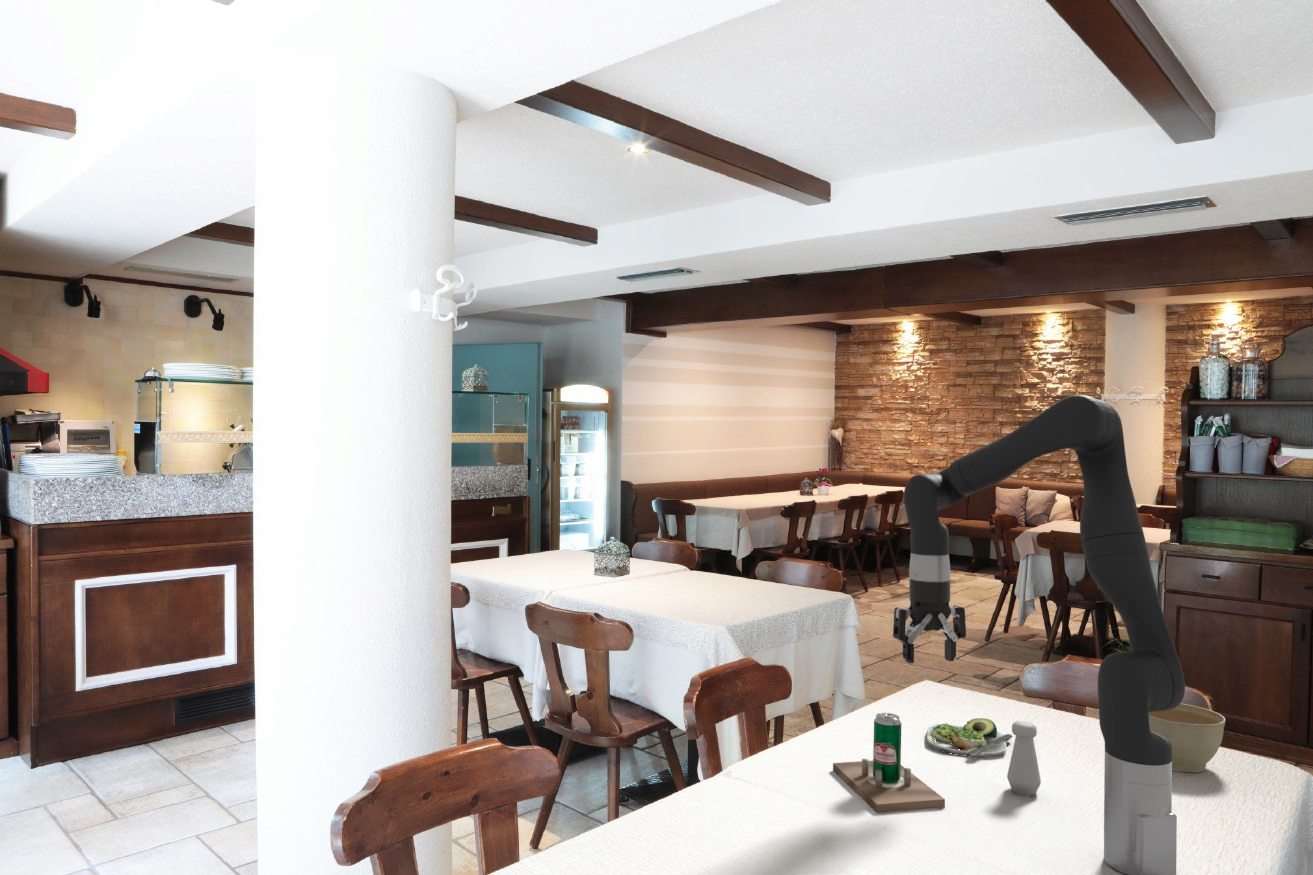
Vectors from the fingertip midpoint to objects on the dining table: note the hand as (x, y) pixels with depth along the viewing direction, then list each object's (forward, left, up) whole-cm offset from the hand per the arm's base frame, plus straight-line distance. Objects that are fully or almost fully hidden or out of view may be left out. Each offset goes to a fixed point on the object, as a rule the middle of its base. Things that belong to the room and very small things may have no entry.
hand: (929, 661), depth 168 cm
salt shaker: (-7, -16, -24) cm, 29 cm away
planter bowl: (0, -56, -24) cm, 61 cm away
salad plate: (+19, -20, -24) cm, 36 cm away
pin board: (-1, +9, -23) cm, 25 cm away
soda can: (-1, +9, -22) cm, 24 cm away
